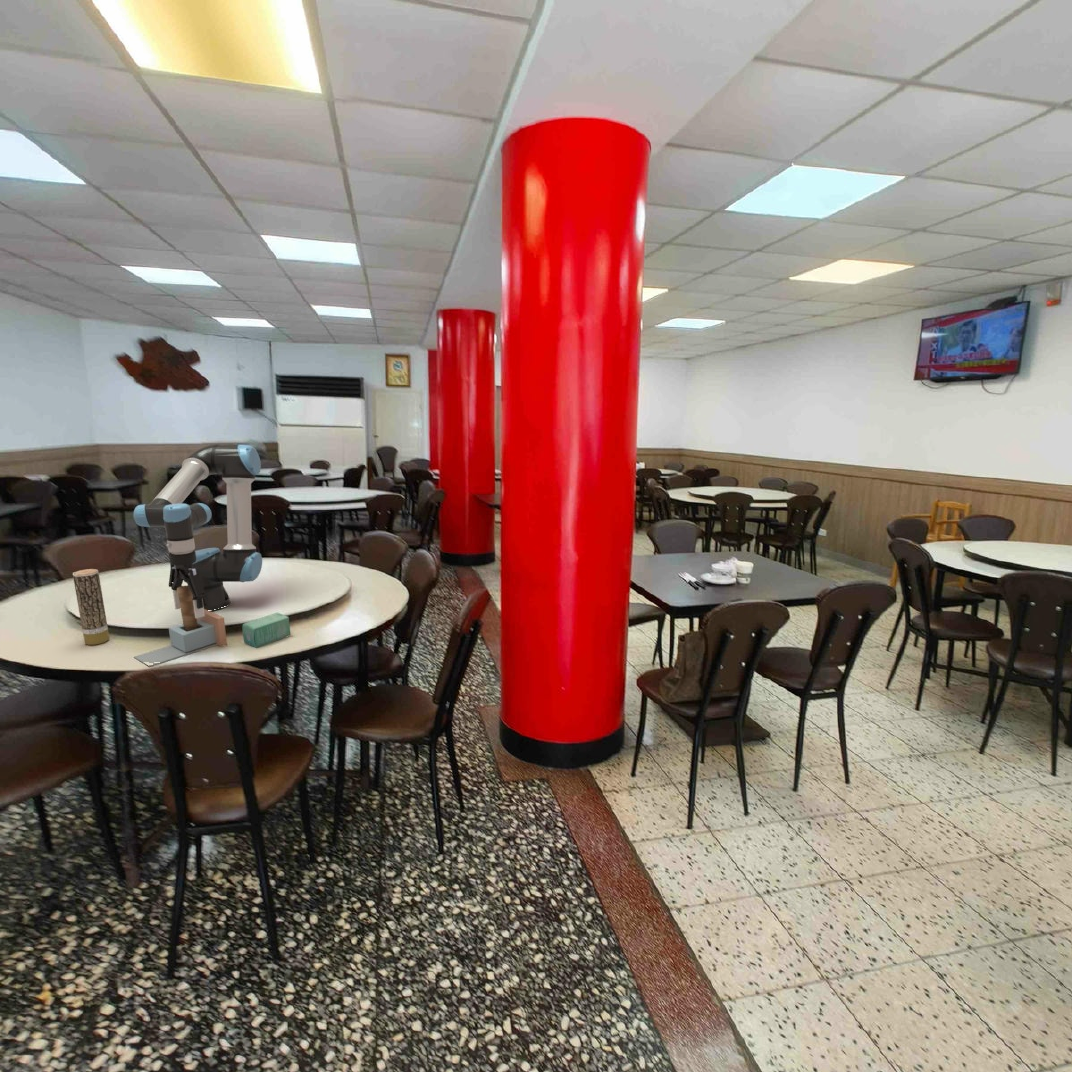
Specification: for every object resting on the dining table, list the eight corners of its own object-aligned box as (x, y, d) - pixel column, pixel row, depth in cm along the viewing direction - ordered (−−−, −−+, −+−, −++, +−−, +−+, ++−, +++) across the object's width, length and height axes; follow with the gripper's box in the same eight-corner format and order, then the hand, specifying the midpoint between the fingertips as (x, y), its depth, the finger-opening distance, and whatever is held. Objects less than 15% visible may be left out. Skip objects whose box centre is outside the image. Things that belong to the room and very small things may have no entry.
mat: (206, 635, 206) (206, 634, 206) (223, 642, 200) (223, 641, 200) (134, 657, 187) (133, 656, 187) (149, 667, 181) (149, 666, 181)
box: (243, 643, 200) (241, 623, 198) (279, 631, 211) (277, 611, 209) (255, 648, 196) (253, 628, 194) (291, 636, 207) (289, 616, 205)
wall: (203, 633, 207) (200, 607, 205) (226, 644, 198) (223, 617, 196) (197, 635, 206) (194, 608, 203) (221, 646, 197) (217, 619, 194)
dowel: (196, 634, 199) (187, 584, 195) (201, 637, 197) (193, 586, 193) (183, 638, 196) (174, 588, 192) (189, 641, 194) (180, 590, 190)
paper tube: (114, 637, 202) (103, 569, 196) (100, 645, 195) (88, 575, 190) (94, 637, 202) (82, 568, 196) (79, 645, 195) (67, 575, 189)
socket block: (201, 635, 204) (199, 619, 202) (216, 642, 198) (214, 626, 197) (170, 644, 196) (168, 628, 194) (185, 652, 190) (183, 635, 189)
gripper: (151, 547, 193) (160, 607, 198) (188, 560, 179) (196, 624, 184) (175, 543, 199) (183, 601, 204) (213, 555, 185) (220, 617, 190)
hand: (189, 612), depth 194 cm, fingers open, 13 cm apart
